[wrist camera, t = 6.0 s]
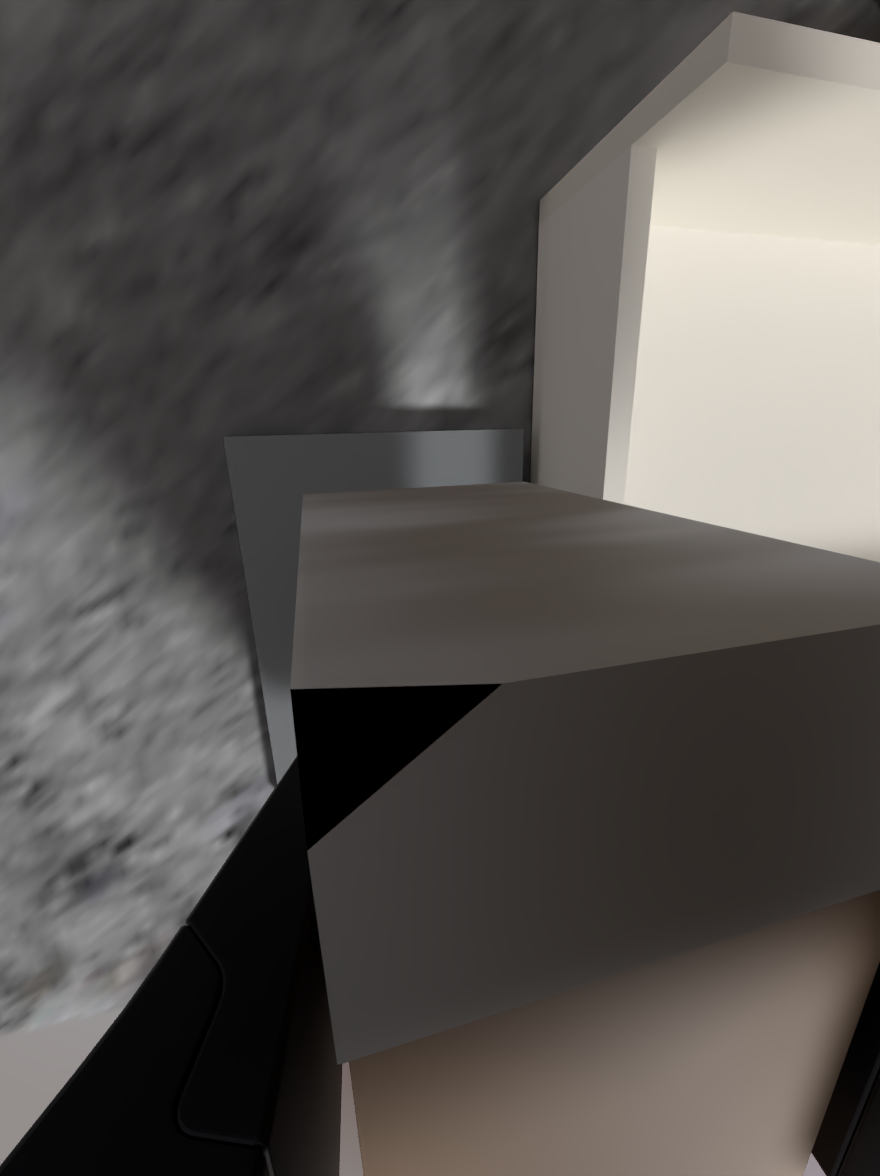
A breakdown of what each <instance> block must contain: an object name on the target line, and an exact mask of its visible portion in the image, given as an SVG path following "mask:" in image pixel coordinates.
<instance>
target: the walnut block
mask: <svg viewBox="0 0 880 1176" xmlns="http://www.w3.org/2000/svg"><path fill="white" fill-rule="evenodd" d="M290 692H291V702H292V711H293V721H294V730H295V740H296V749H297V759H298V768H299V778H300V787H301V797H302V806H303V816H304V825H305V835H306V844H307V853H308V860H309V867H310V874H311V882H312V889H313V896H314V903H315V910H316V917H317V924H318V931H319V938H320V946H321V953H322V960H323V967H324V974H325V981H326V988H327V995H328V1002H329V1009H330V1017H331V1024H332V1031H333V1038H334V1045H335V1052H336V1059H337V1065H340V1064H343V1063H346V1062H349V1066H350V1073H351V1081H352V1089H353V1097H354V1105H355V1113H356V1120H357V1128H358V1135H359V1143H360V1151H361V1159H362V1167H363V1175H364V1176H803V1174H804V1171H805V1168H806V1165H807V1163H808V1160H809V1157H810V1154H811V1151H812V1149H813V1146H814V1143H815V1140H816V1137H817V1135H818V1132H819V1129H820V1126H821V1124H822V1121H823V1118H824V1115H825V1112H826V1110H827V1107H828V1104H829V1101H830V1099H831V1096H832V1093H833V1090H834V1087H835V1085H836V1082H837V1079H838V1076H839V1073H840V1071H841V1068H842V1065H843V1062H844V1060H845V1057H846V1054H847V1051H848V1048H849V1046H850V1043H851V1040H852V1037H853V1035H854V1032H855V1029H856V1026H857V1023H858V1021H859V1018H860V1015H861V1012H862V1009H863V1007H864V1004H865V1001H866V998H867V996H868V993H869V990H870V987H871V984H872V982H873V979H874V976H875V973H876V971H877V968H878V965H879V962H880V562H876V561H872V560H867V559H863V558H858V557H854V556H850V555H845V554H841V553H836V552H832V551H828V550H823V549H819V548H814V547H810V546H806V545H801V544H797V543H792V542H788V541H784V540H779V539H775V538H770V537H766V536H762V535H757V534H753V533H748V532H744V531H739V530H735V529H731V528H726V527H722V526H717V525H713V524H709V523H704V522H700V521H695V520H691V519H687V518H682V517H678V516H673V515H669V514H665V513H660V512H656V511H651V510H647V509H643V508H638V507H634V506H629V505H625V504H620V503H616V502H612V501H607V500H603V499H598V498H594V497H590V496H585V495H581V494H576V493H572V492H568V491H563V490H559V489H554V488H550V487H546V486H541V485H537V484H532V483H528V482H510V483H492V484H474V485H456V486H438V487H419V488H401V489H383V490H365V491H347V492H328V493H310V494H303V501H302V516H301V532H300V547H299V562H298V577H297V593H296V608H295V623H294V639H293V654H292V669H291V684H290Z"/></svg>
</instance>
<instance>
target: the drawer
mask: <svg viewBox="0 0 880 1176" xmlns="http://www.w3.org/2000/svg"><path fill="white" fill-rule="evenodd" d="M530 483H532V484H537V485H541V486H546V487H550V488H554V489H559V490H563V491H568V492H572V493H576V494H581V495H585V496H590V497H594V498H598V499H603V500H607V501H612V502H616V503H620V504H625V505H629V506H634V507H638V508H643V509H647V510H651V511H656V512H660V513H665V514H669V515H673V516H678V517H682V518H687V519H691V520H695V521H700V522H704V523H709V524H713V525H717V526H722V527H726V528H731V529H735V530H739V531H744V532H748V533H753V534H757V535H762V536H766V537H770V538H775V539H779V540H784V541H788V542H792V543H797V544H801V545H806V546H810V547H814V548H819V549H823V550H828V551H832V552H836V553H841V554H845V555H850V556H854V557H858V558H863V559H867V560H872V561H876V562H880V43H878V42H873V41H868V40H864V39H859V38H855V37H850V36H845V35H841V34H836V33H831V32H827V31H822V30H818V29H813V28H808V27H804V26H799V25H794V24H790V23H785V22H781V21H776V20H771V19H767V18H762V17H757V16H753V15H748V14H744V13H739V12H734V11H733V12H732V13H731V14H730V15H729V16H728V17H727V18H726V19H725V20H724V21H723V22H722V23H721V24H720V25H718V26H717V27H716V28H715V29H714V30H713V31H712V32H711V33H710V34H709V35H708V36H707V37H706V38H705V39H704V40H703V41H702V42H701V43H700V44H699V45H698V46H697V47H696V48H695V49H694V50H693V51H692V52H691V53H690V54H689V55H688V56H687V57H686V58H685V59H684V60H683V61H682V62H681V63H680V64H679V65H678V66H677V67H676V68H675V69H674V70H672V71H671V72H670V73H669V74H668V75H667V76H666V77H665V78H664V79H663V80H662V81H661V82H660V83H659V84H658V85H657V86H656V87H655V88H654V89H653V90H652V91H651V92H650V93H649V94H648V95H647V96H646V97H645V98H644V99H643V100H642V101H641V102H640V103H639V104H638V105H637V106H636V107H635V108H634V109H633V110H632V111H631V112H630V113H629V114H628V115H626V116H625V117H624V118H623V119H622V120H621V121H620V122H619V123H618V124H617V125H616V126H615V127H614V128H613V129H612V130H611V131H610V132H609V133H608V134H607V135H606V136H605V137H604V138H603V139H602V140H601V141H600V142H599V143H598V144H597V145H596V146H595V147H594V148H593V149H592V150H591V151H590V152H589V153H588V154H587V155H586V156H585V157H584V158H583V159H582V160H580V161H579V162H578V163H577V164H576V165H575V166H574V167H573V168H572V169H571V170H570V171H569V172H568V173H567V174H566V175H565V176H564V177H563V178H562V179H561V180H560V181H559V182H558V183H557V184H556V185H555V186H554V187H553V188H552V189H551V190H550V191H549V192H548V193H547V194H546V195H545V196H544V197H543V198H542V199H541V200H540V209H539V239H538V268H537V298H536V328H535V357H534V387H533V417H532V446H531V476H530Z"/></svg>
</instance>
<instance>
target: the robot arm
mask: <svg viewBox="0 0 880 1176" xmlns="http://www.w3.org/2000/svg"><path fill="white" fill-rule="evenodd" d="M185 924H186V925H184V926H182V927H181V928H180V929H179V931H178V932H177V934H176V935H175V937H174V938H173V940H172V941H171V943H170V944H169V946H168V947H167V949H166V950H165V951H164V953H163V954H162V956H161V957H160V959H159V960H158V962H157V963H156V964H155V966H154V967H153V969H152V970H151V971H150V973H149V974H148V976H147V977H146V978H145V980H144V981H143V983H142V984H141V986H140V987H139V988H138V990H137V991H136V993H135V994H134V995H133V997H132V998H131V1000H130V1001H129V1002H128V1004H127V1005H126V1007H125V1008H124V1009H123V1011H122V1012H121V1013H120V1015H119V1016H118V1017H117V1018H116V1020H115V1021H114V1023H113V1024H112V1025H111V1026H110V1028H109V1029H108V1030H107V1032H106V1033H105V1034H104V1035H103V1037H102V1038H101V1039H100V1041H99V1042H98V1043H97V1044H96V1046H95V1047H94V1048H93V1050H92V1051H91V1052H90V1053H89V1055H88V1056H87V1057H86V1059H85V1060H84V1061H83V1062H82V1064H81V1065H80V1066H79V1068H78V1069H77V1070H76V1072H75V1073H74V1074H73V1075H72V1077H71V1078H70V1079H69V1080H68V1082H67V1083H66V1084H65V1085H64V1087H63V1088H62V1089H61V1090H60V1092H59V1093H58V1094H57V1095H56V1097H55V1098H54V1099H53V1100H52V1102H51V1103H50V1104H49V1105H48V1107H47V1108H46V1109H45V1110H44V1112H43V1113H42V1114H41V1116H40V1117H39V1118H38V1119H37V1120H36V1122H35V1123H34V1124H33V1125H32V1127H31V1128H30V1129H29V1131H28V1132H27V1133H26V1134H25V1135H24V1137H23V1138H22V1139H21V1141H20V1142H19V1143H18V1144H17V1145H16V1147H15V1148H14V1149H13V1150H12V1152H11V1153H10V1154H9V1156H8V1157H7V1158H6V1159H5V1160H4V1162H3V1163H2V1164H1V1166H0V1176H339V1161H340V1125H341V1124H340V1123H341V1088H342V1087H341V1085H342V1064H340V1065H337V1059H336V1052H335V1045H334V1038H333V1031H332V1024H331V1017H330V1009H329V1002H328V995H327V988H326V981H325V974H324V967H323V960H322V953H321V946H320V938H319V931H318V924H317V917H316V910H315V903H314V896H313V889H312V882H311V874H310V867H309V860H308V853H307V844H306V835H305V825H304V816H303V806H302V797H301V787H300V778H299V768H298V759H297V756H296V758H295V759H294V761H293V762H292V764H291V765H290V767H289V768H288V770H287V771H286V773H285V774H284V776H283V777H282V779H281V780H280V782H279V783H278V784H277V786H276V787H275V789H274V790H273V792H272V793H271V795H270V796H269V798H268V799H267V801H266V802H265V804H264V805H263V807H262V808H261V810H260V811H259V813H258V814H257V816H256V817H255V819H254V820H253V822H252V823H251V825H250V826H249V827H248V829H247V830H246V832H245V833H244V835H243V836H242V838H241V839H240V841H239V842H238V844H237V845H236V847H235V848H234V850H233V851H232V853H231V854H230V856H229V857H228V859H227V860H226V862H225V863H224V865H223V866H222V868H221V869H220V870H219V872H218V873H217V875H216V876H215V878H214V879H213V881H212V882H211V884H210V885H209V887H208V888H207V890H206V891H205V893H204V894H203V896H202V897H201V899H200V900H199V902H198V903H197V905H196V906H195V908H194V909H193V910H192V912H191V913H190V915H189V916H188V918H187V919H186V922H185ZM811 1153H812V1154H813V1155H814V1157H815V1159H816V1160H817V1162H818V1163H819V1165H820V1166H821V1168H822V1170H823V1171H824V1173H825V1174H826V1176H880V962H879V965H878V968H877V971H876V973H875V976H874V979H873V982H872V984H871V987H870V990H869V993H868V996H867V998H866V1001H865V1004H864V1007H863V1009H862V1012H861V1015H860V1018H859V1021H858V1023H857V1026H856V1029H855V1032H854V1035H853V1037H852V1040H851V1043H850V1046H849V1048H848V1051H847V1054H846V1057H845V1060H844V1062H843V1065H842V1068H841V1071H840V1073H839V1076H838V1079H837V1082H836V1085H835V1087H834V1090H833V1093H832V1096H831V1099H830V1101H829V1104H828V1107H827V1110H826V1112H825V1115H824V1118H823V1121H822V1124H821V1126H820V1129H819V1132H818V1135H817V1137H816V1140H815V1143H814V1146H813V1149H812V1151H811Z"/></svg>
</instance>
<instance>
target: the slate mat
mask: <svg viewBox="0 0 880 1176" xmlns="http://www.w3.org/2000/svg"><path fill="white" fill-rule="evenodd" d="M223 441H224V447H225V454H226V460H227V467H228V473H229V479H230V486H231V492H232V499H233V505H234V511H235V518H236V524H237V531H238V537H239V543H240V550H241V556H242V562H243V569H244V575H245V582H246V588H247V594H248V601H249V607H250V614H251V620H252V626H253V633H254V639H255V646H256V652H257V658H258V665H259V671H260V678H261V684H262V690H263V697H264V703H265V710H266V716H267V722H268V729H269V735H270V741H271V748H272V754H273V761H274V767H275V773H276V780H277V784H278V783H279V782H280V780H281V779H282V777H283V776H284V774H285V773H286V771H287V770H288V768H289V767H290V765H291V764H292V762H293V761H294V759H295V758H296V756H297V749H296V740H295V730H294V721H293V711H292V702H291V692H290V684H291V669H292V654H293V639H294V623H295V608H296V593H297V577H298V562H299V547H300V532H301V516H302V501H303V494H310V493H328V492H347V491H365V490H383V489H401V488H419V487H438V486H456V485H474V484H492V483H510V482H522V481H523V446H524V429H489V430H452V431H414V432H377V433H340V434H303V435H265V436H228V437H223Z"/></svg>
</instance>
